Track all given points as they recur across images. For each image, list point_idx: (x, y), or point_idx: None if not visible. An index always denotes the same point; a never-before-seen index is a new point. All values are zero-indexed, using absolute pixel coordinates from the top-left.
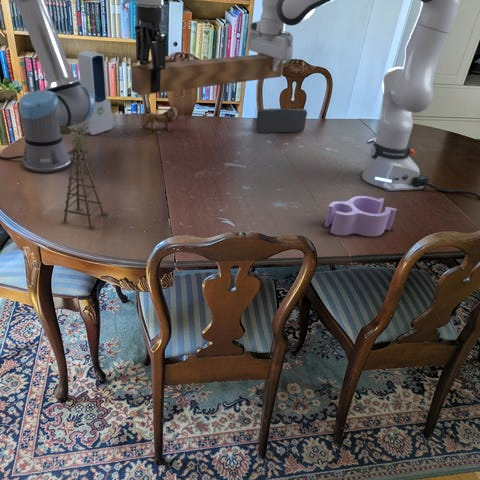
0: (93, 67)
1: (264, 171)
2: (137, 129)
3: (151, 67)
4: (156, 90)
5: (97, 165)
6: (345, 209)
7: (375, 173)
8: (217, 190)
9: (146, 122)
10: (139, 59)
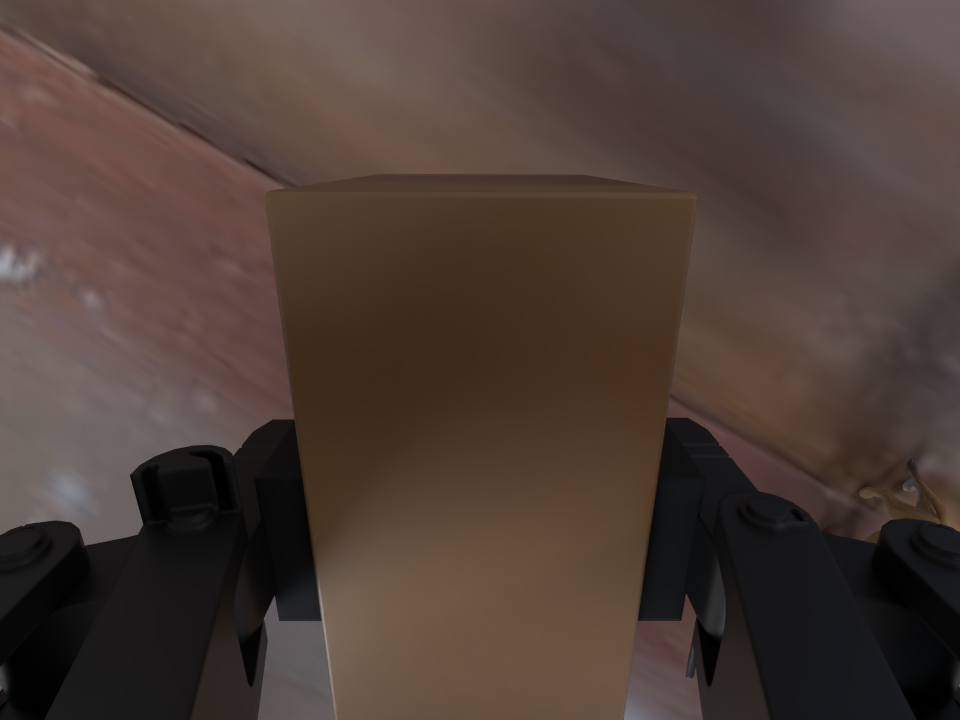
0: None
1: None
2: (925, 439)
3: (410, 545)
4: None
5: (706, 60)
6: None
7: None
8: (242, 382)
9: (923, 490)
10: (875, 568)
